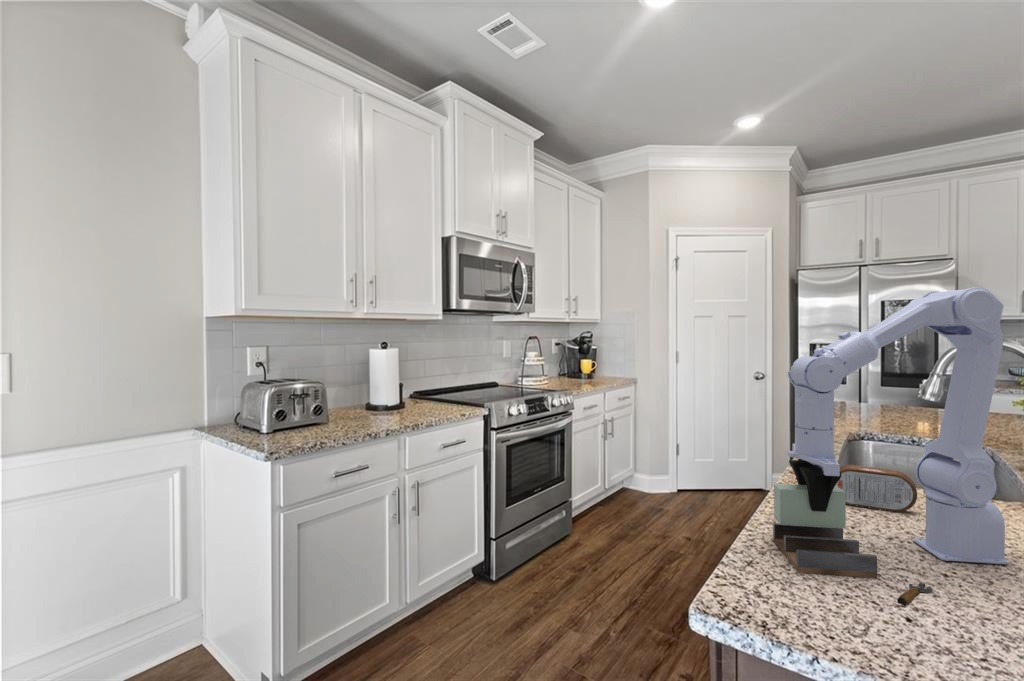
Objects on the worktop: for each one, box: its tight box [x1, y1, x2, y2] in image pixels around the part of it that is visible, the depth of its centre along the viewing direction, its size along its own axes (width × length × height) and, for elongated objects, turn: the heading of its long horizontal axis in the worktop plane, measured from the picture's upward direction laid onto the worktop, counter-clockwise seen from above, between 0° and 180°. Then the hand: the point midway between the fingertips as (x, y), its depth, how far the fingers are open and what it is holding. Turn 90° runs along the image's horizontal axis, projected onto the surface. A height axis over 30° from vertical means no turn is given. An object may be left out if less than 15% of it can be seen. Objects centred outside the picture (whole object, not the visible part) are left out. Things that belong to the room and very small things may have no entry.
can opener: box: [897, 581, 933, 606], centre depth 72 cm, size 9×2×1 cm, turn 119°
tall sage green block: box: [773, 483, 847, 529], centre depth 86 cm, size 3×10×6 cm, turn 79°
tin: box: [835, 464, 918, 513], centre depth 107 cm, size 15×3×8 cm, turn 58°
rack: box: [772, 522, 878, 579], centre depth 83 cm, size 11×12×3 cm
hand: (813, 506), depth 86 cm, fingers closed on tall sage green block, 3 cm apart
